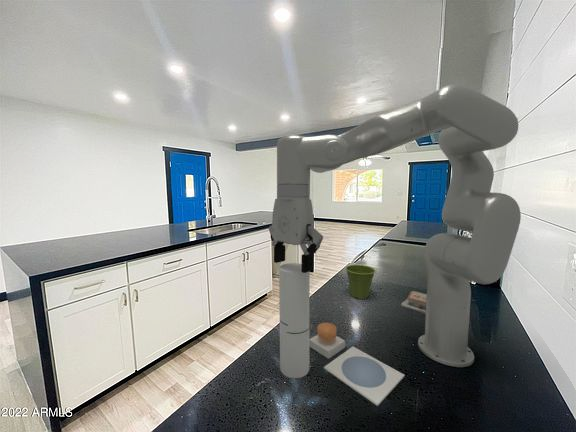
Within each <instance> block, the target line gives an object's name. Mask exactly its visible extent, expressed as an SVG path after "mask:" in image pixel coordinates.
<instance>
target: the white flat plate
mask: <svg viewBox="0 0 576 432" xmlns="http://www.w3.org/2000/svg"><path fill="white" fill-rule="evenodd" d="M323 370H326V372H327V373H329V374H331V375H333V376H334V377H335V378H337V379H338V380H339V381H341V382H343V384H345V385H347V386H348V387H350V388H351V389H352V390H353V391H355V392H356V393H358V394H359V395H361V396H362V397H364V398H365V399H366V400H368V401H370V402H371V403H372V404H373V405H375V406H377V407H378V406H380V404H381V403H382V402H383V401H384V400H385V399H386V398H387V397H388V395H389V394H390V393H391V392H392V391H393V390H394V389H395V388H396V387H397V386H398V385H399V383H400V382H401V381H402V380H403V379H404V378H405V374H404V373H402V372H400V371H398V370H396V369H395V368H393V367H392V366H389V365H387V364H385V363H384V362H382V361H380V360H378V359H377V358H375V357H373V356H371V355H369V354H368V353H365V352H364V351H363V350H360V349H359V348H357V347H354V346H351V347H350V348H348V349H347V350H345V352H343V353H341V354H340V355H338V356H337V357H335V358H334V359H333V360H331V361H330V362H329V363H327V364H326V365H324V366H323Z"/></svg>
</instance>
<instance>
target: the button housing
mask: <svg viewBox="0 0 576 432" xmlns="http://www.w3.org/2000/svg"><path fill="white" fill-rule="evenodd" d="M309 348H310V349H313V350H314V351H315V352H317V353H319V354H320V355H322V356H323V357H324V358H327V359H328V360H329V359H331V358H332V357H334V356H335V355H336V354H338V353H339V352H341V351H343V350H344V349H345V348H346V340H345V339H343V338H341V337H340V336H336V338H335V339H333V340H324V339H321V338H320V337H319V336H318V334H317V333H316V335H314V336H312V337H311V338H310V337H309Z"/></svg>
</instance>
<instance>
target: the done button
mask: <svg viewBox="0 0 576 432" xmlns="http://www.w3.org/2000/svg"><path fill="white" fill-rule="evenodd" d="M316 327H317V330H316V331H317V333H316V335H317V334H318V336H319V337H320V338H321V339H324V340H333V339H335V338H336V336H337V335H338V333H337V332H338V331H337V330H338V327H337V326H336V325H335V324H333V323H332V322H321V323H319V324H318V325H317V326H316Z"/></svg>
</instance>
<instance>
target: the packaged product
mask: <svg viewBox="0 0 576 432" xmlns="http://www.w3.org/2000/svg"><path fill="white" fill-rule="evenodd" d="M426 300H427V293H423V292H419V291H415V290H412V291H410V294H408V296H407V298H406V299H405V300H404V301H402V303H400V306H401V307H403V308H406V309H410V310H413V311H416V312H419V313H422V314H425V315H426Z"/></svg>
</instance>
